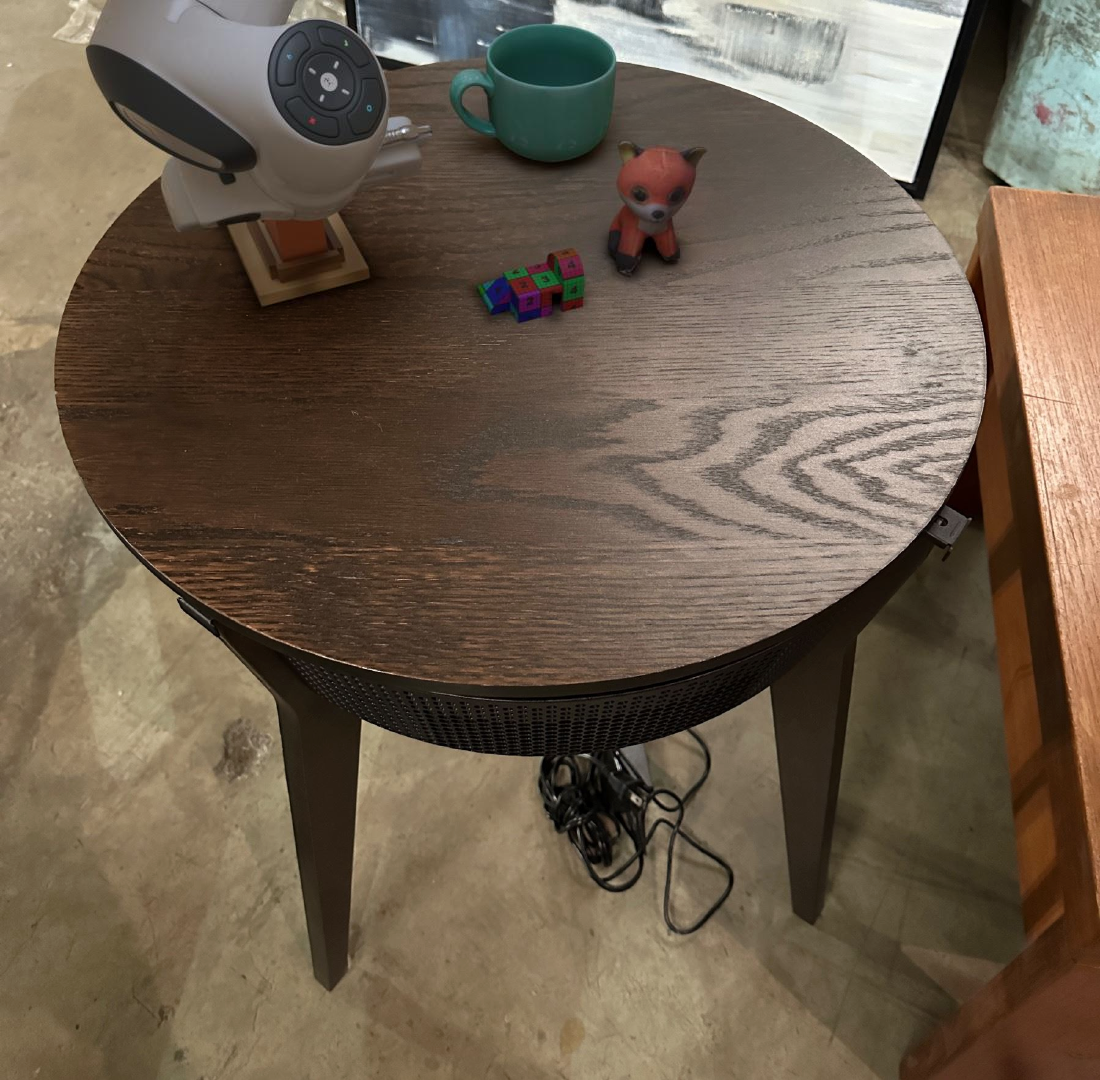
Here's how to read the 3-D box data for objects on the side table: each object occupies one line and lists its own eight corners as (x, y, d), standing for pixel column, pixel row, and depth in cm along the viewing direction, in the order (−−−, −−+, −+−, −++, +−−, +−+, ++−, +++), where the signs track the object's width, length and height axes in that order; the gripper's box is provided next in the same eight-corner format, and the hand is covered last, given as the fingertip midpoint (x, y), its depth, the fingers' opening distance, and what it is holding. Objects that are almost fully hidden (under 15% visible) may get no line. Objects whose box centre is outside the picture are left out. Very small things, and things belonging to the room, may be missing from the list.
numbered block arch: (559, 269, 95) (560, 228, 91) (582, 306, 92) (585, 264, 88) (477, 290, 93) (475, 248, 89) (499, 327, 90) (498, 286, 86)
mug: (593, 105, 112) (599, 17, 104) (623, 171, 104) (631, 81, 97) (442, 120, 109) (436, 31, 102) (462, 188, 102) (457, 98, 94)
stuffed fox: (675, 208, 101) (692, 92, 91) (694, 282, 94) (714, 165, 84) (599, 210, 100) (607, 93, 91) (612, 284, 93) (622, 167, 84)
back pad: (286, 271, 92) (266, 182, 84) (265, 227, 95) (244, 138, 88) (329, 260, 93) (314, 171, 86) (306, 216, 96) (290, 128, 89)
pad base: (261, 307, 90) (236, 206, 82) (213, 197, 100) (186, 98, 92) (370, 278, 93) (356, 178, 85) (312, 174, 103) (295, 75, 95)
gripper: (424, 81, 77) (392, 134, 90) (148, 140, 71) (157, 187, 84) (449, 166, 78) (414, 206, 91) (179, 230, 73) (183, 263, 86)
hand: (289, 197), depth 88 cm, fingers open, 8 cm apart
